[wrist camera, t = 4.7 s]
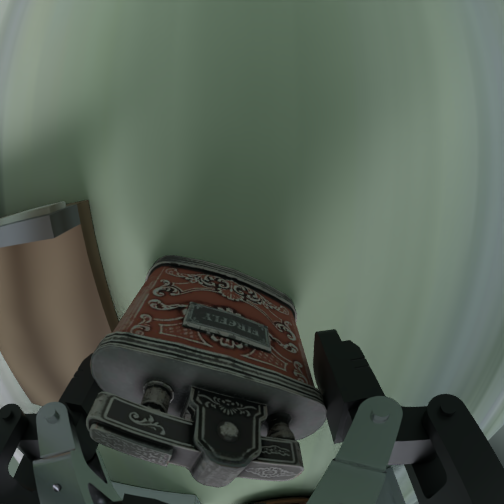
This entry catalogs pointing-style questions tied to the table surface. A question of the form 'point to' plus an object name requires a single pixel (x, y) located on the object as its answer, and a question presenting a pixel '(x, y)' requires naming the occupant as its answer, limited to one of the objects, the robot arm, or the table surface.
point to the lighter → (206, 376)
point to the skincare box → (155, 494)
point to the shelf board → (51, 296)
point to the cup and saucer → (286, 500)
